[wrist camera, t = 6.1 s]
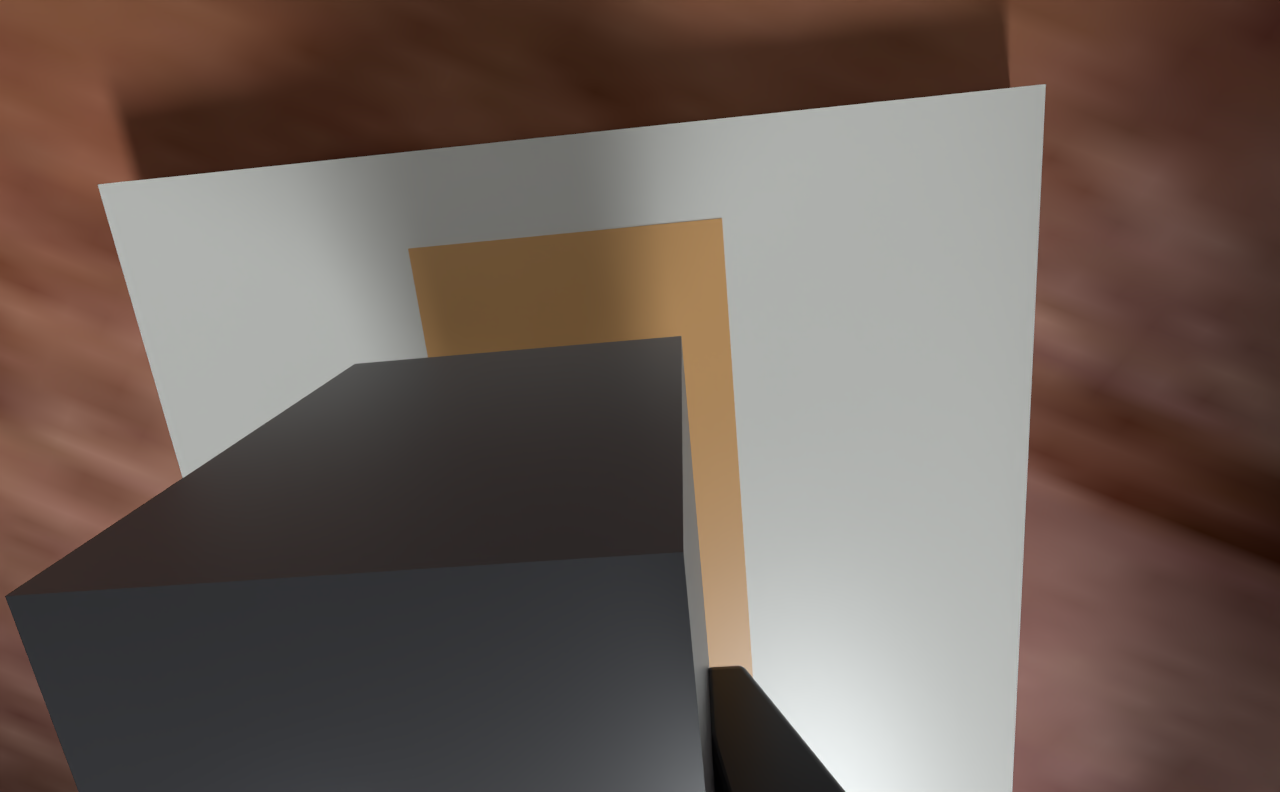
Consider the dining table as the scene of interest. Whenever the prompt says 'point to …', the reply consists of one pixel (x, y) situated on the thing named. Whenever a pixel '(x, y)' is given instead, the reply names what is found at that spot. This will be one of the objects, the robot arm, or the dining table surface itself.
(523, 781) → the block
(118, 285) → the dining table surface
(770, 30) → the dining table surface
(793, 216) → the board
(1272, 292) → the dining table surface
